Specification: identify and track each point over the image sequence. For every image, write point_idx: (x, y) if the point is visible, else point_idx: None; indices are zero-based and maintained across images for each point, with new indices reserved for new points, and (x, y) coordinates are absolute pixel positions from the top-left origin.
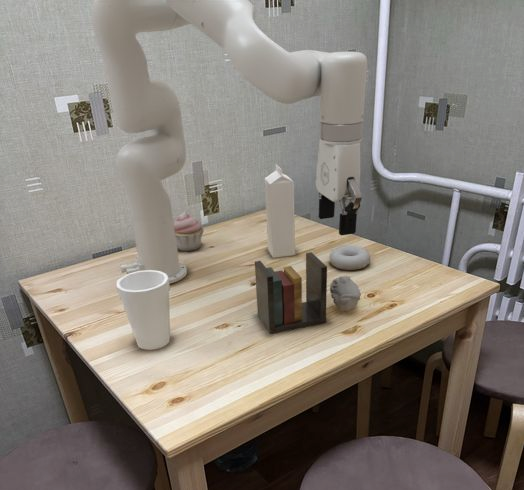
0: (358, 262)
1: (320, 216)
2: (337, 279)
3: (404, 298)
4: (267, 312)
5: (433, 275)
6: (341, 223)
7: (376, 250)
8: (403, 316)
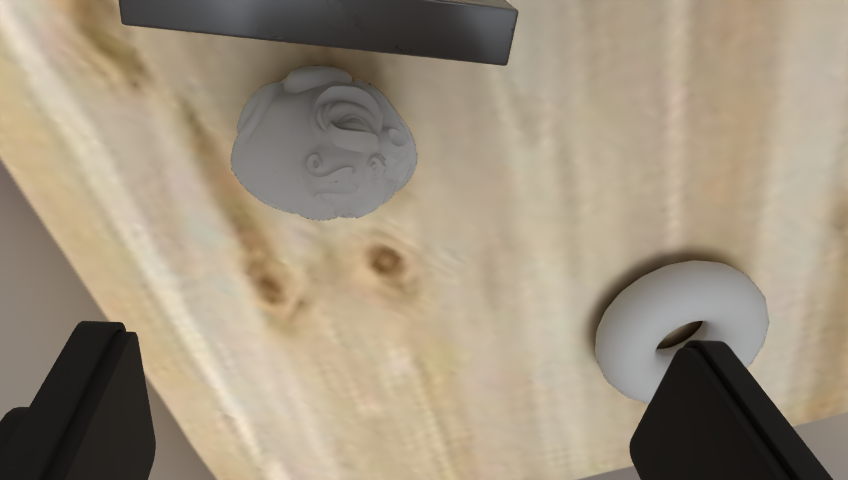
0: (608, 341)
1: (697, 361)
2: (348, 143)
3: (304, 345)
4: None
5: (412, 475)
6: (13, 454)
7: None
8: (167, 280)
